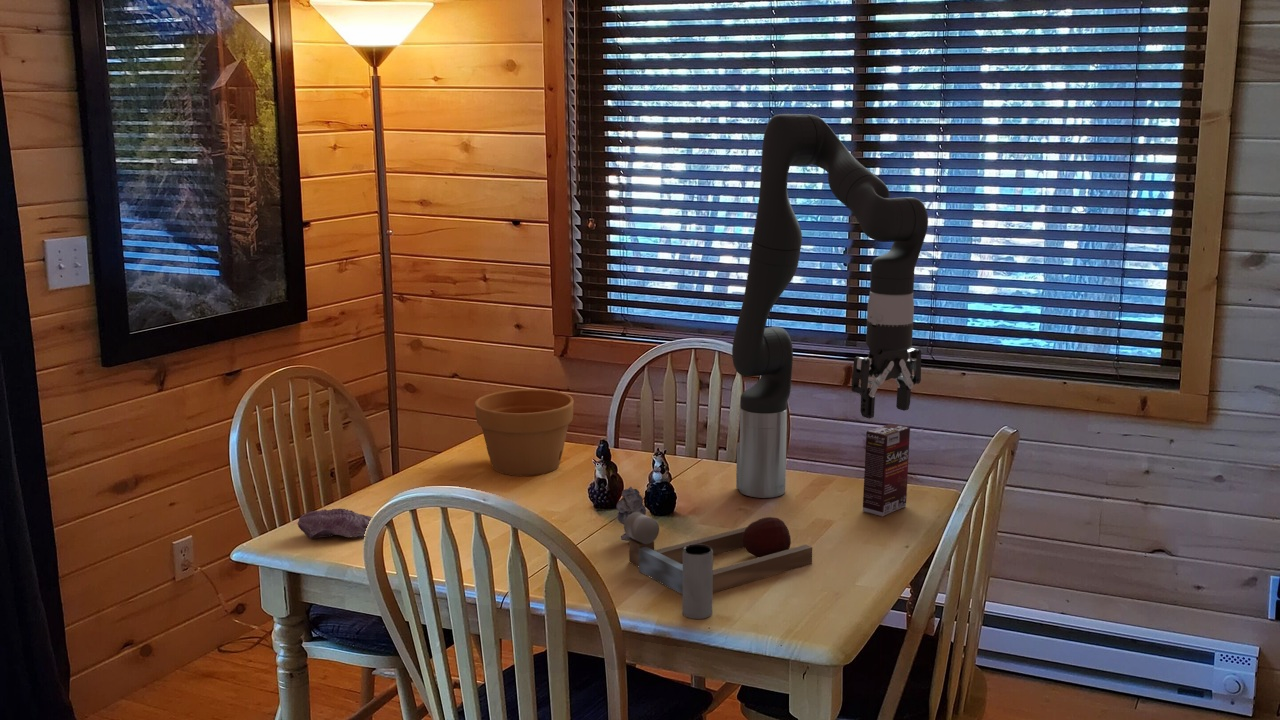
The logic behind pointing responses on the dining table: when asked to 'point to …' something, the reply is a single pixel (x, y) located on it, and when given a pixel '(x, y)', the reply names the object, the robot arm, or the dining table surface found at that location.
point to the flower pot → (525, 429)
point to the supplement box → (886, 469)
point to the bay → (670, 559)
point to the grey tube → (697, 581)
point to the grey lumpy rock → (629, 506)
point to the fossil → (333, 523)
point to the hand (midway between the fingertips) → (885, 413)
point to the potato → (766, 537)
